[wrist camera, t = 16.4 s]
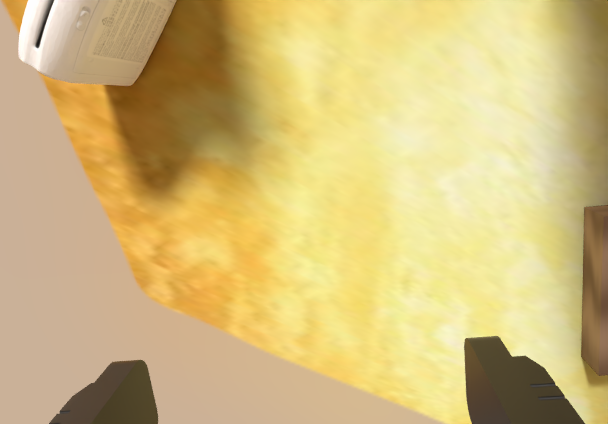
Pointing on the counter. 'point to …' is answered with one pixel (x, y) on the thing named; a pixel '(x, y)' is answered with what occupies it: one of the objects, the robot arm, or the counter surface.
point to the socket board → (595, 289)
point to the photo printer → (92, 38)
